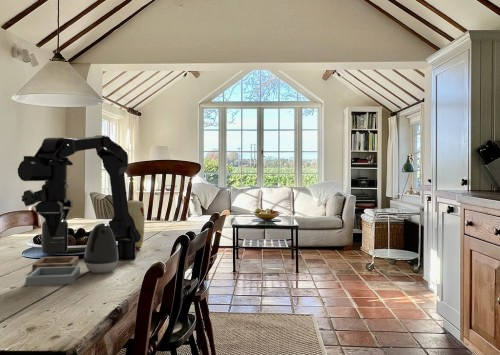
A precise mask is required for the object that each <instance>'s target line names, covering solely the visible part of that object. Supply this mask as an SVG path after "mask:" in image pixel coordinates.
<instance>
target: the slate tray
mask: <svg viewBox="0 0 500 355" xmlns="http://www.w3.org/2000/svg"><path fill="white" fill-rule="evenodd" d="M80 274H81V265H77V266H72V267H41V268H37V269H36V270H34V271H33V272H32V271H31V272H30V274H28V275H27V276H26V277H25V286H27V287H28V286H31V287H32V286H51V285H73V284H74V283H75V282H76V280H77V279H78V277H79V276H80Z"/></svg>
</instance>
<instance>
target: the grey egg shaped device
mask: <svg viewBox="0 0 500 355" xmlns="http://www.w3.org/2000/svg"><path fill="white" fill-rule="evenodd" d="M83 261H84V264H85V266H86V269H87V270H88V271H89V272H91V273H93V274H100V275H101V274H107V273H110V272H111V271H113V270H114V269H115V268H116V267H117V264H118V262H119V261H120V260H119V254H118V248H117V241H116V239H115V236H114V233H113V231H112V229H111V228H110V226H109V224H107V223H104V222H101V223H99V224H96V225H95V226H94V227H93V228H92V230H91V232H90V234H89V236H88V240H87V243H86V247H85V250H84V258H83Z"/></svg>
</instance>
